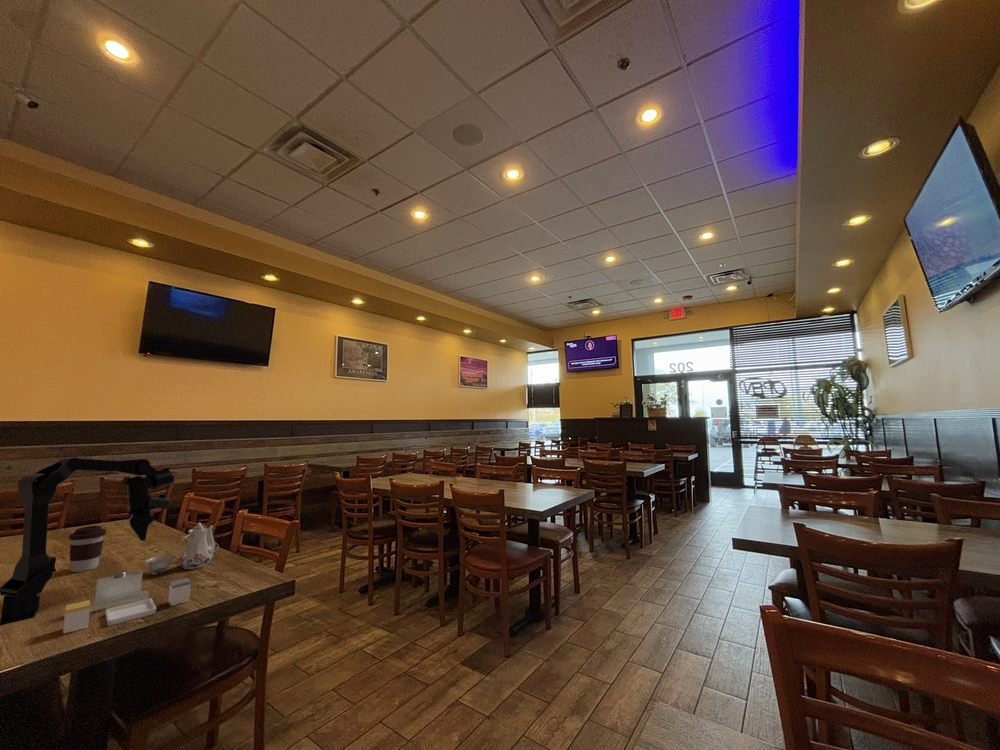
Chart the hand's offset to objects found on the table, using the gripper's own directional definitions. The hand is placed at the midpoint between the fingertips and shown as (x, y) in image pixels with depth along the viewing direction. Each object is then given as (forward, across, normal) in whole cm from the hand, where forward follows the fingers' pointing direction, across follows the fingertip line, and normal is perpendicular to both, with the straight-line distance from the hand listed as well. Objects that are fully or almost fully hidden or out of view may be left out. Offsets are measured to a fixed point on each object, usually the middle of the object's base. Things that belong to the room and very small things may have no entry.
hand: (142, 536), depth 145 cm
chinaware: (+17, +2, -13) cm, 21 cm away
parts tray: (+11, -35, +5) cm, 37 cm away
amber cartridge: (+9, -36, +16) cm, 40 cm away
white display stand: (+12, -23, +8) cm, 27 cm away
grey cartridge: (+12, -35, -6) cm, 38 cm away
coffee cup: (+14, +25, +16) cm, 33 cm away
